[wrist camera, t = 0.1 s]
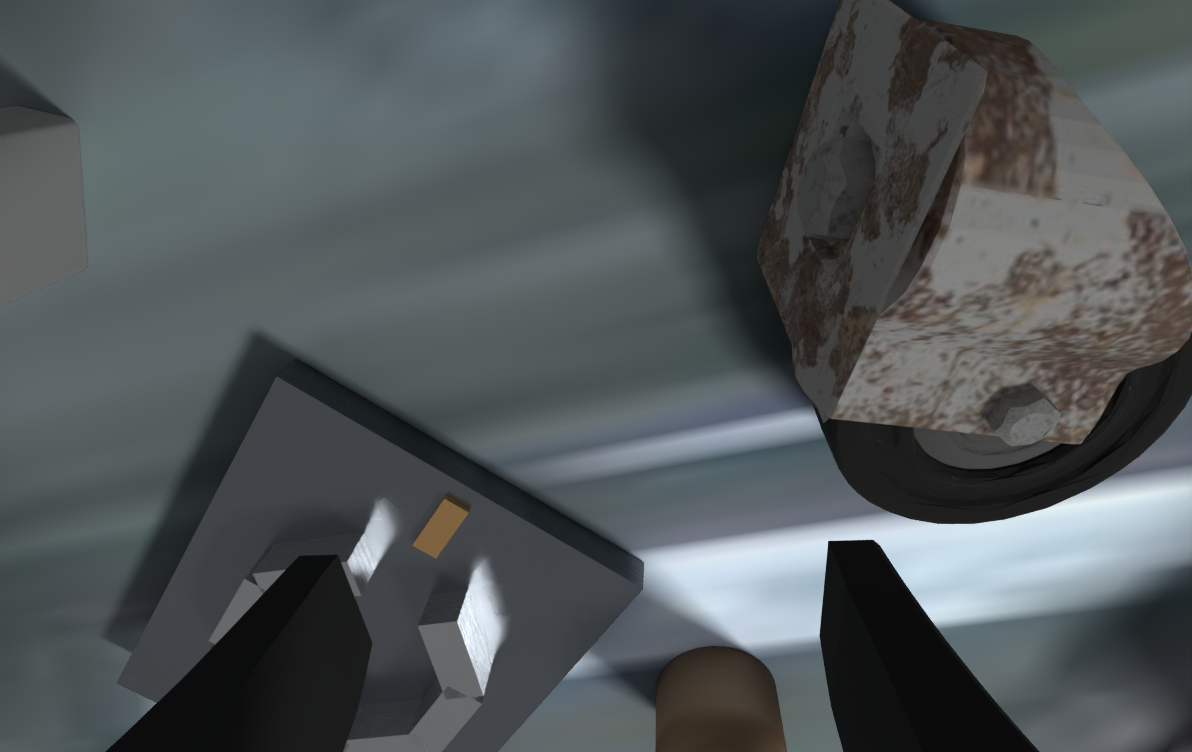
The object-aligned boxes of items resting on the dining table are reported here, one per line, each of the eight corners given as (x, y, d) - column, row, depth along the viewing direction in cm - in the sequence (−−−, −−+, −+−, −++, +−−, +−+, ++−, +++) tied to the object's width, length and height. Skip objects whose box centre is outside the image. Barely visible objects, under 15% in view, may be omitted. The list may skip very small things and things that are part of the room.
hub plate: (433, 802, 30) (414, 871, 27) (138, 656, 28) (89, 716, 25) (643, 563, 24) (642, 621, 22) (295, 358, 22) (252, 399, 20)
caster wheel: (1002, 424, 24) (690, 389, 23) (1247, 47, 17) (823, -33, 16) (1126, 607, 19) (730, 576, 18) (1547, 171, 12) (954, 67, 11)
